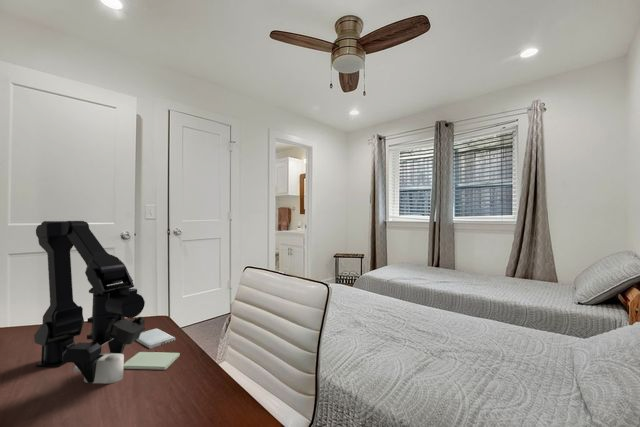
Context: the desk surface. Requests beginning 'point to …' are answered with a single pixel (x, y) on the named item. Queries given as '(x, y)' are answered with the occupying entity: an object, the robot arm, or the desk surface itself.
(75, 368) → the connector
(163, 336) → the hard drive
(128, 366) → the sage mat
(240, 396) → the desk surface
